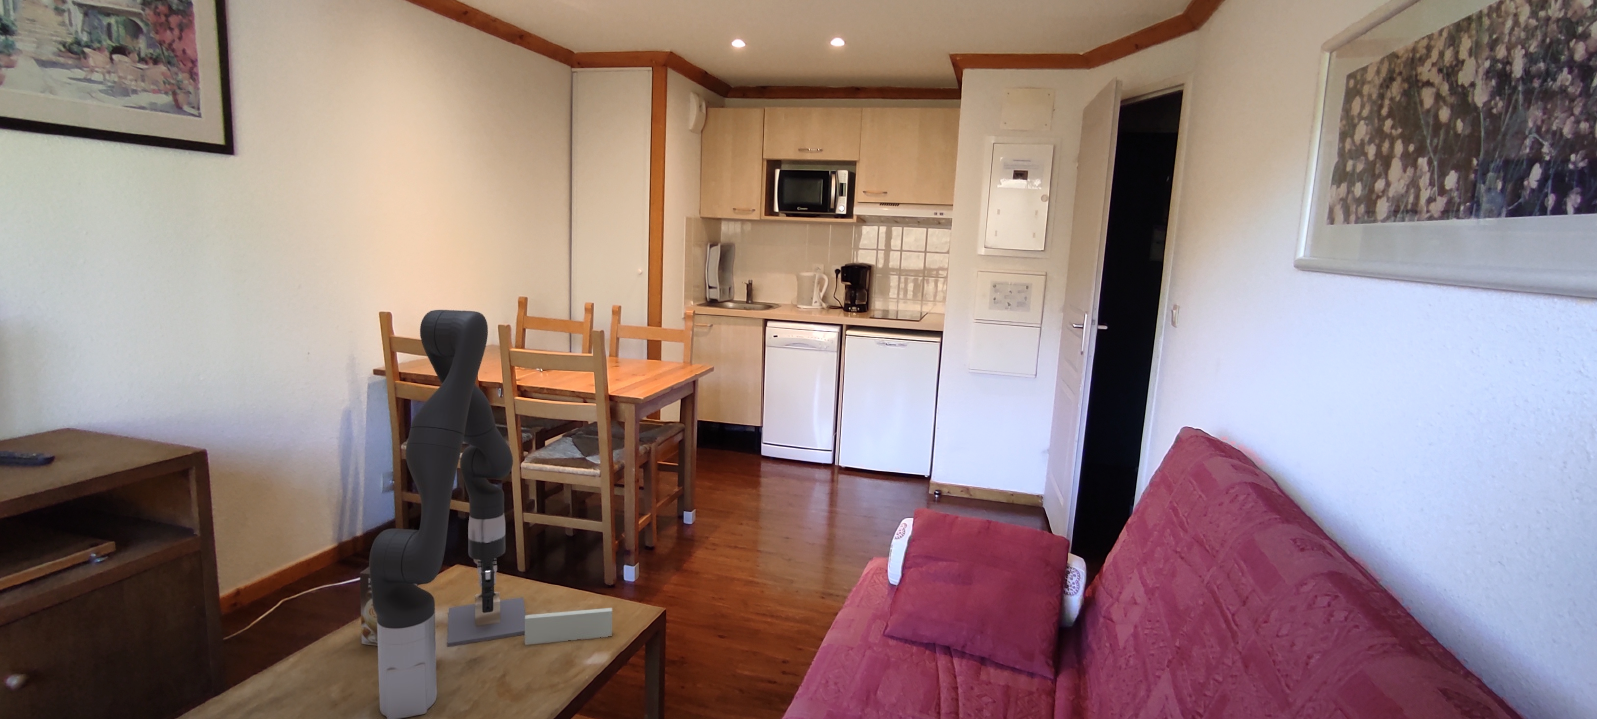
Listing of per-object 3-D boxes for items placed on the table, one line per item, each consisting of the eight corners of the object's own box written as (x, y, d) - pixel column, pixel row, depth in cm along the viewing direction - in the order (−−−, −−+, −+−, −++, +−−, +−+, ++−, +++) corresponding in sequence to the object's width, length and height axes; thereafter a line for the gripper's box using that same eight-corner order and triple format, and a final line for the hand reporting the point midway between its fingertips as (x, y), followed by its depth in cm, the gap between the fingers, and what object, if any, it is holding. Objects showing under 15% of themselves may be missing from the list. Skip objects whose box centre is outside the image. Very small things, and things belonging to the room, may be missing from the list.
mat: (528, 633, 157) (528, 630, 157) (447, 646, 151) (447, 643, 150) (523, 600, 172) (523, 596, 172) (448, 610, 165) (448, 607, 165)
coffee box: (359, 644, 150) (356, 572, 147) (380, 629, 156) (378, 559, 153) (401, 649, 149) (399, 576, 146) (420, 633, 155) (418, 563, 153)
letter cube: (500, 622, 160) (500, 600, 159) (475, 625, 158) (475, 604, 157) (499, 611, 164) (499, 590, 163) (475, 615, 162) (475, 594, 161)
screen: (611, 636, 158) (612, 610, 157) (524, 644, 153) (524, 618, 152) (611, 632, 160) (612, 607, 159) (525, 641, 154) (525, 615, 153)
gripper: (468, 523, 163) (468, 591, 165) (468, 548, 150) (468, 620, 152) (503, 520, 166) (503, 586, 168) (506, 543, 153) (506, 615, 155)
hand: (487, 602), depth 160 cm, fingers open, 8 cm apart
